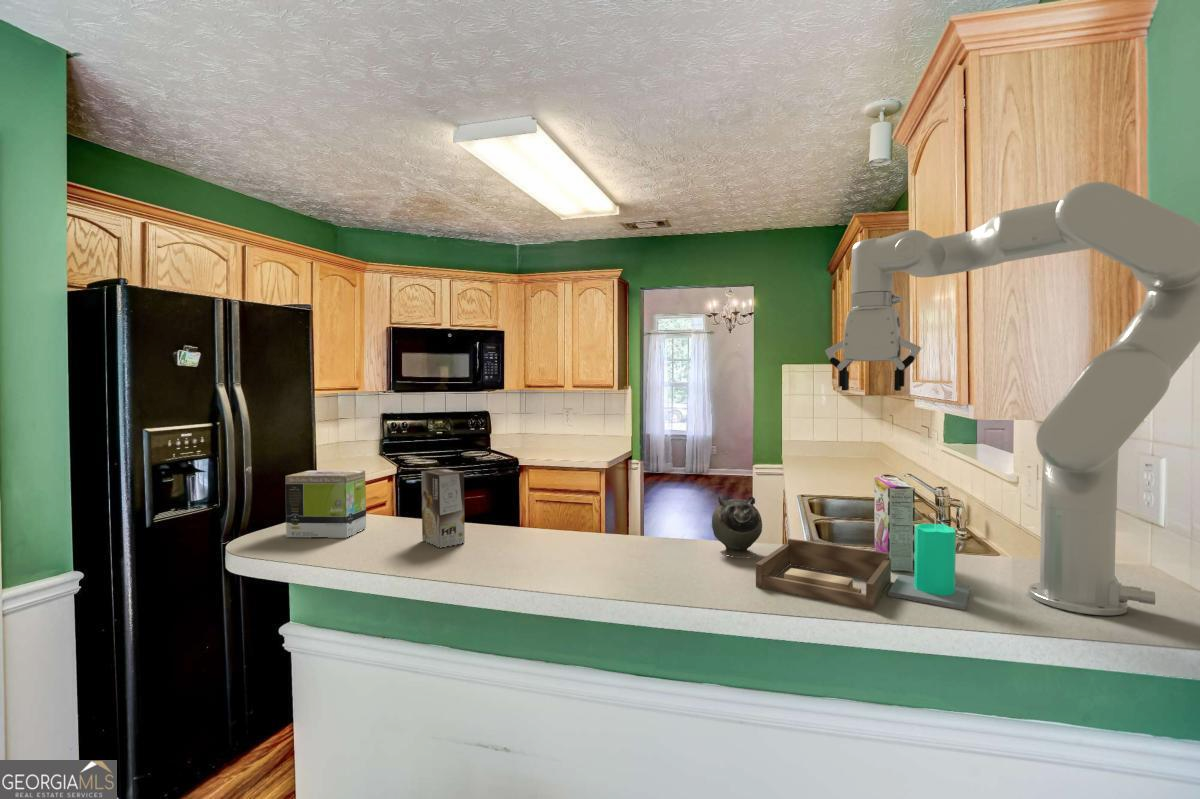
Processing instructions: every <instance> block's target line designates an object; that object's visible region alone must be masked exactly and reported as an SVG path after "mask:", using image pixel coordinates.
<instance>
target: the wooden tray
mask: <svg viewBox="0 0 1200 799" xmlns="http://www.w3.org/2000/svg"><path fill="white" fill-rule="evenodd" d="M790 564H791V565H790ZM788 565H789V566H794V565H797V566H796V567H800V566H803V567H802V568H805V567H808V568H807V569H811V568H813V569H812V570H817V569H818V570H819V571H823V570H825V572H829V571H831V572H830V573H835V572H836V573H835V574H840V573H841V575H846V574H847V575H848V576H854V577H859V578H866V579H868V580H867V582H866V583H865V593H862V592H861V593H857V592H852V591H847V590H841V589H836V588H831V587H825V586H820V585H814V584H809V583H804V582H798V581H793V580H788V579H784V578H781V577H777V576H778V575H779V574H780V573H782V572H783V571H784V570H785V569H787V568H788V567H789V566H788ZM787 566H788V567H787ZM786 567H787V568H786ZM783 569H784V570H783ZM782 570H783V571H782ZM781 571H782V572H781ZM777 574H778V575H777ZM776 575H777V576H776ZM891 578H892V571H891V559H888V553H885V552H879V551H874V550H870V549H863V548H859V547H858V548H857V547H856V548H855V547H851V546H845V545H843V546H842V545H836V544H831V543H824V542H823V543H822V542H815V541H809V540H803V539H802V540H801V539H795V538H787V543H784V544H783V545H781V546H780V547H778V548H777V549H775V550H773V552H771V553H769V554H768V555H767V556H765V557H763V558H762V559H761V560H759V561H758V562H756V563H755V587H756V588H761V587H763V589H767V590H772V591H776V592H777V591H778V592H783V593H787V592H788V593H787V594H792V595H797V594H798V596H802V597H807V596H808V598H812V599H813V598H814V599H818V600H822V599H823V600H822V601H829V602H833V603H839V604H843V605H847V606H852V607H858V608H863V609H867V610H871V611H873V610H874V609H875V607H876V605H877V604H878V602H879V601H880V599H881V598H882V596H883V595H884V593H885V591H886V589H887V588H888V586H889V585H890V583H891V581H892V579H891Z"/></svg>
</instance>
